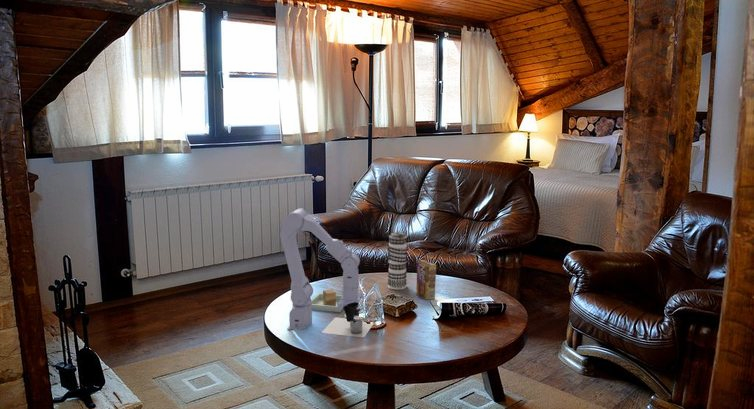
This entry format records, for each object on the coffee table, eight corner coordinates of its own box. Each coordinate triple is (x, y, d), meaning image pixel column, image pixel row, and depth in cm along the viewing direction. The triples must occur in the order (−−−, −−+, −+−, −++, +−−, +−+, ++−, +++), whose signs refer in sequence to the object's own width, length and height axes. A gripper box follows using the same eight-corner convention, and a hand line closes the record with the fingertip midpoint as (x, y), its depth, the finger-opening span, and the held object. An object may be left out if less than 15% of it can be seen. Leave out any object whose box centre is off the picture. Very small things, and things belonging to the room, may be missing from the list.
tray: (340, 314, 238) (340, 307, 238) (306, 311, 242) (306, 304, 241) (350, 303, 252) (350, 296, 251) (318, 300, 255) (318, 293, 254)
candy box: (435, 298, 258) (436, 264, 255) (427, 300, 256) (428, 265, 253) (423, 292, 266) (424, 259, 263) (415, 294, 263) (416, 260, 261)
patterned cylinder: (384, 284, 277) (384, 231, 272) (403, 282, 280) (404, 230, 275) (390, 290, 268) (391, 236, 264) (410, 288, 271) (411, 234, 267)
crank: (362, 333, 216) (362, 320, 215) (350, 333, 216) (350, 320, 215) (362, 320, 228) (362, 308, 227) (350, 320, 228) (350, 308, 227)
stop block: (335, 305, 246) (335, 291, 245) (326, 307, 244) (326, 293, 243) (332, 302, 249) (332, 289, 248) (323, 304, 247) (323, 290, 246)
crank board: (363, 340, 213) (363, 337, 213) (321, 335, 217) (321, 332, 217) (375, 323, 229) (375, 321, 228) (335, 319, 232) (335, 317, 232)
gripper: (349, 293, 213) (348, 329, 215) (369, 283, 225) (369, 317, 227) (332, 290, 216) (332, 325, 218) (353, 280, 228) (353, 314, 231)
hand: (349, 321), depth 223 cm, fingers closed, pressing on crank
